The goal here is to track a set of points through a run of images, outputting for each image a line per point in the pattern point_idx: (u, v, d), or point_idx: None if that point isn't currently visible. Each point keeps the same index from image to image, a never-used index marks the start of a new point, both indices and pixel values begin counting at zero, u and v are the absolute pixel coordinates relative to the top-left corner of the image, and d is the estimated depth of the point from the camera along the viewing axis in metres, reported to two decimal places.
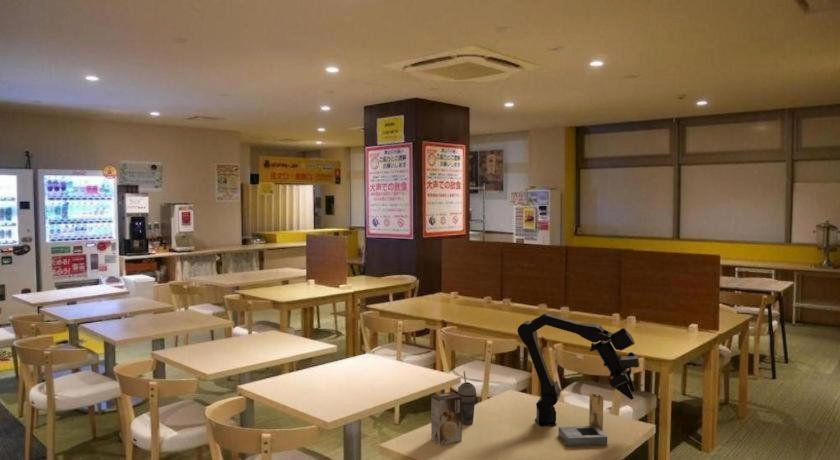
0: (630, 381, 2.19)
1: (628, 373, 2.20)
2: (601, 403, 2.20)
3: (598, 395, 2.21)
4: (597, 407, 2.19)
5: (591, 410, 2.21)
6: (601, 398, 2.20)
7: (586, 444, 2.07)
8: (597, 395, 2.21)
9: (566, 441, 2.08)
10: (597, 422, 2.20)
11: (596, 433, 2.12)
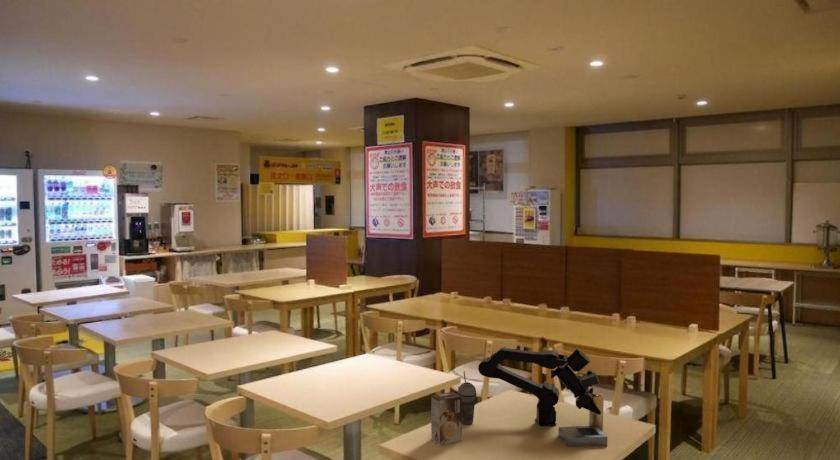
0: None
1: (591, 392, 2.25)
2: (601, 403, 2.20)
3: (598, 395, 2.21)
4: None
5: None
6: (601, 398, 2.20)
7: (586, 444, 2.07)
8: (597, 395, 2.21)
9: (566, 441, 2.08)
10: (597, 422, 2.20)
11: (596, 433, 2.12)
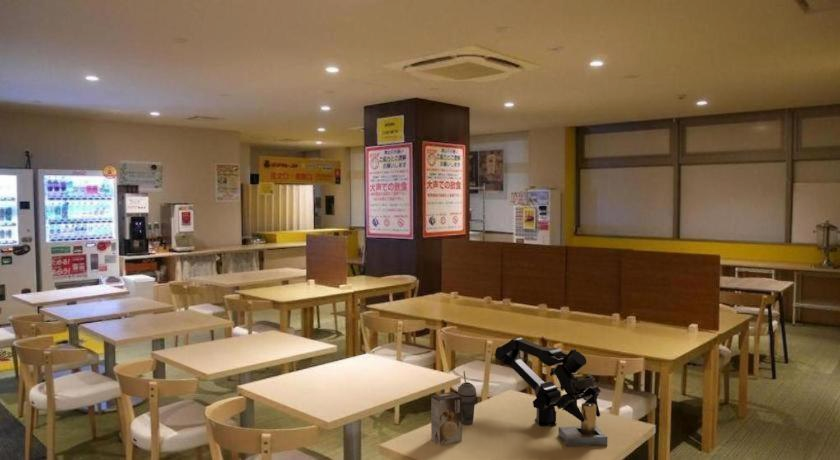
0: None
1: (592, 397, 2.15)
2: (589, 413, 2.09)
3: (590, 405, 2.11)
4: (584, 417, 2.10)
5: None
6: (589, 408, 2.09)
7: (586, 444, 2.07)
8: (589, 405, 2.11)
9: (566, 441, 2.08)
10: (584, 433, 2.10)
11: (596, 433, 2.12)
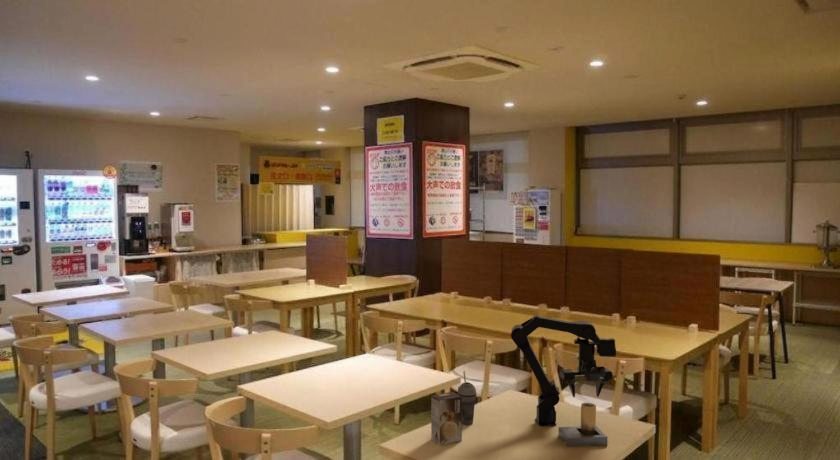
0: (598, 387, 2.24)
1: (600, 381, 2.23)
2: (589, 414, 2.09)
3: (589, 405, 2.11)
4: (584, 417, 2.10)
5: (581, 419, 2.12)
6: (589, 408, 2.09)
7: (586, 444, 2.07)
8: (588, 405, 2.11)
9: (566, 441, 2.08)
10: (584, 433, 2.10)
11: (596, 433, 2.12)
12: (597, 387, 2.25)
